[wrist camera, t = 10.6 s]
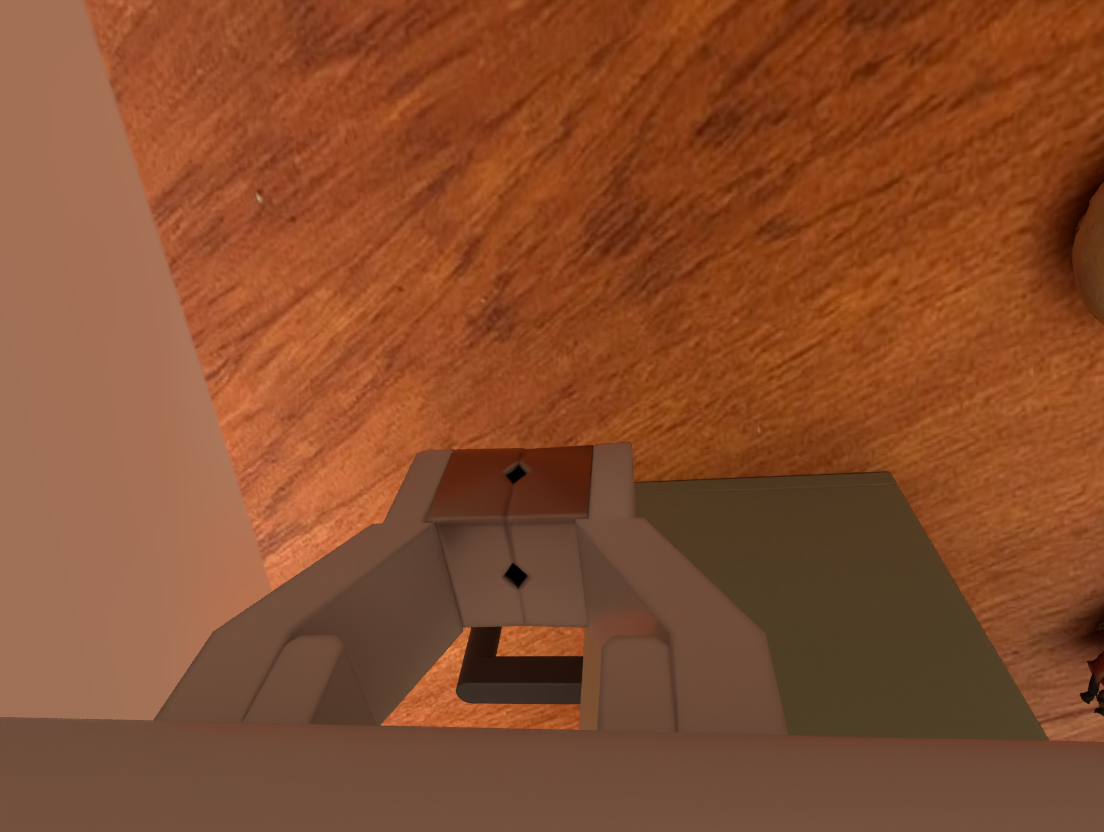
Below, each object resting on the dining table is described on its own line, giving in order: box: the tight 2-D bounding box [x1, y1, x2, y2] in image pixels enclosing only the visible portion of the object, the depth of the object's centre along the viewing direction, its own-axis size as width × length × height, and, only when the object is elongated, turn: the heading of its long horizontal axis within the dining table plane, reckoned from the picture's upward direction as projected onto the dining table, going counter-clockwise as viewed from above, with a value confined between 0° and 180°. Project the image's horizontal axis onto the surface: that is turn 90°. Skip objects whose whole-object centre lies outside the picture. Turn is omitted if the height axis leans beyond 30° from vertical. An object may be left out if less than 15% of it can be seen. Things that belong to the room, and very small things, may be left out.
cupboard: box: [634, 472, 1049, 741], centre depth 31 cm, size 14×24×20 cm, turn 7°
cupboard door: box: [456, 626, 601, 730], centre depth 33 cm, size 7×24×20 cm, turn 7°
